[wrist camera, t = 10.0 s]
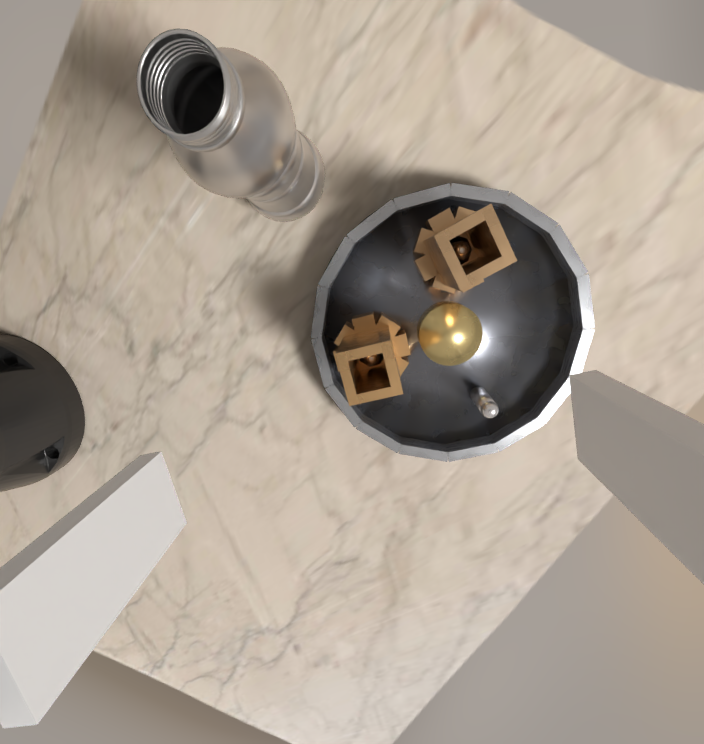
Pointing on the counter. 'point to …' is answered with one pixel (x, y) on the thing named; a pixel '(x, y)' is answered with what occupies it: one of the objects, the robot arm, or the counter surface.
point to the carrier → (459, 327)
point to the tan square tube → (440, 256)
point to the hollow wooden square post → (368, 341)
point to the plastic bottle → (230, 124)
